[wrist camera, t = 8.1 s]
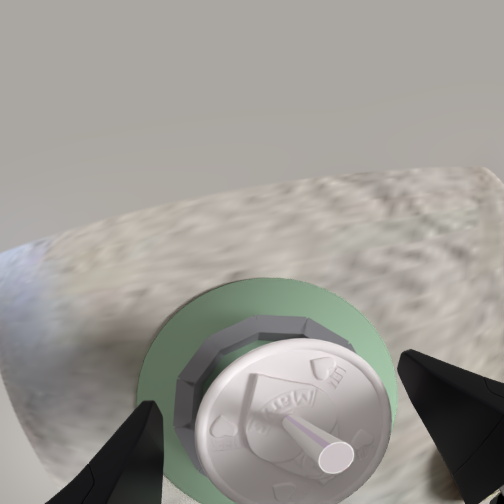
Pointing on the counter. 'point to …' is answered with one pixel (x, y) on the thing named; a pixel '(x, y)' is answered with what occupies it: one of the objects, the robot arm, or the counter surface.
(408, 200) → the counter surface
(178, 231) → the counter surface
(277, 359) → the smoothie
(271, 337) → the putting green cup
